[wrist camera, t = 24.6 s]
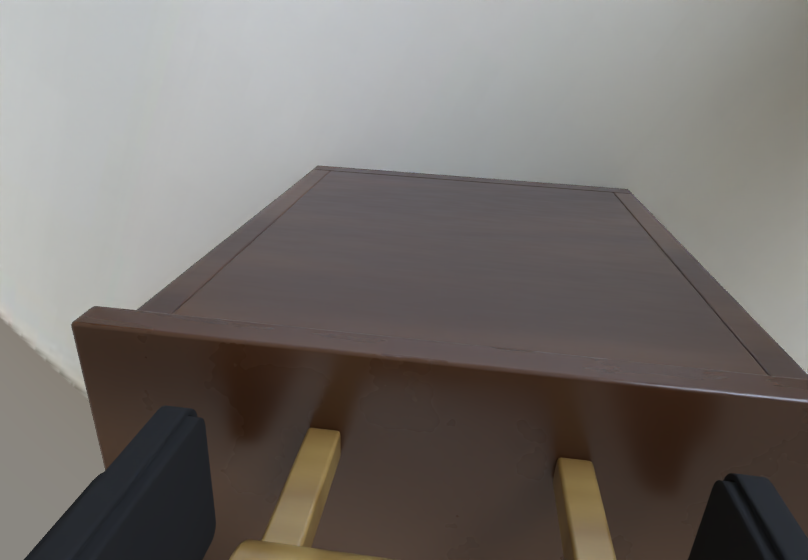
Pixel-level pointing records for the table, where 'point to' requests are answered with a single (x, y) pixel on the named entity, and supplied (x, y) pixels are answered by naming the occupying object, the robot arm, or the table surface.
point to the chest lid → (441, 440)
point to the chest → (476, 271)
